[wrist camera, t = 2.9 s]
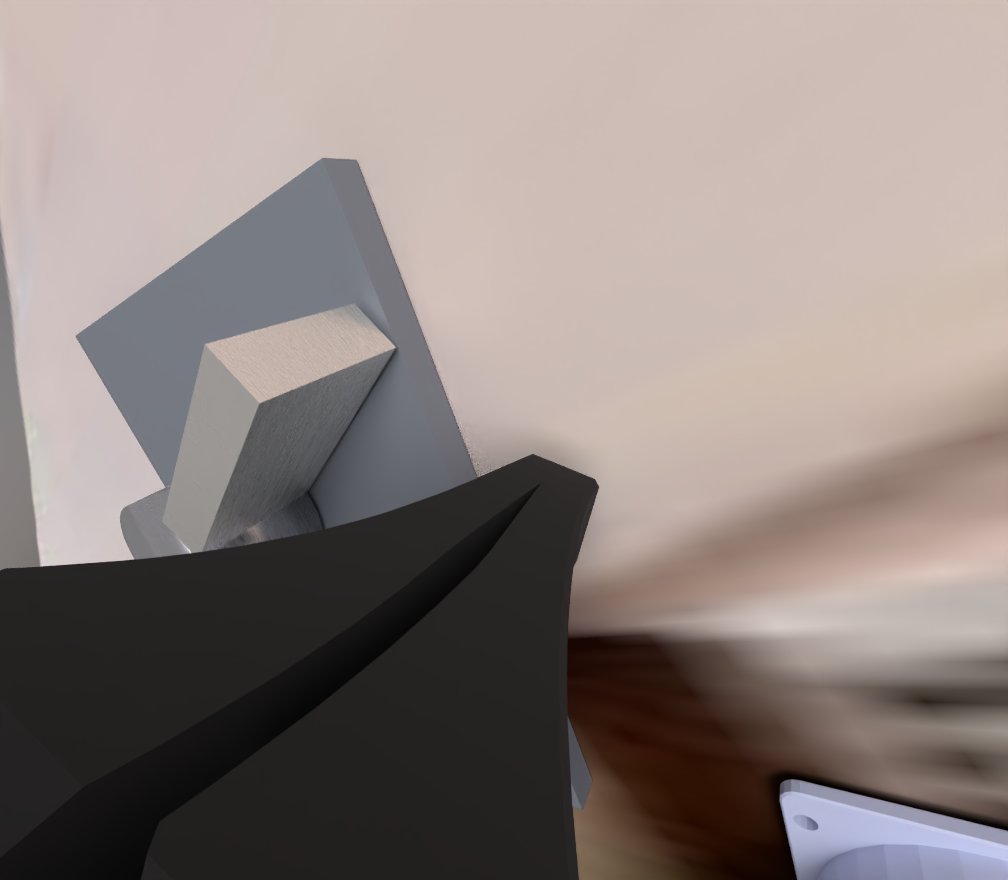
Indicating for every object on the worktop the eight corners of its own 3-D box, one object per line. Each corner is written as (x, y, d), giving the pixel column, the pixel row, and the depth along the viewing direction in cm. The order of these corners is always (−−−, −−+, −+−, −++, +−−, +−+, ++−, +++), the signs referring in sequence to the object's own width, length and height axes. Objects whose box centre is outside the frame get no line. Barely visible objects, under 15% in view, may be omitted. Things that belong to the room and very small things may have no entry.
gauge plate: (592, 780, 17) (579, 819, 16) (313, 695, 26) (294, 716, 25) (356, 159, 11) (310, 157, 10) (103, 330, 20) (66, 337, 19)
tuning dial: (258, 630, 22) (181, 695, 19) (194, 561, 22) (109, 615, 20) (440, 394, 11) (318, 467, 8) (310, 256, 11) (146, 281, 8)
